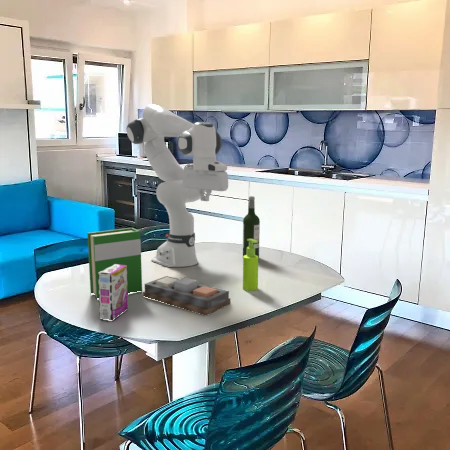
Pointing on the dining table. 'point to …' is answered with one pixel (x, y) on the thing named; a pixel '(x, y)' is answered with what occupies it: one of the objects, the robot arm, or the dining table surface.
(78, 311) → the dining table surface
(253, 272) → the soap dispenser
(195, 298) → the compartment tray
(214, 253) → the dining table surface
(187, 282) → the grey key
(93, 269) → the hardback book
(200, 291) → the terracotta key
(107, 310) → the candy bar box
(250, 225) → the wine bottle
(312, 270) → the dining table surface
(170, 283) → the cream key
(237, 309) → the dining table surface
